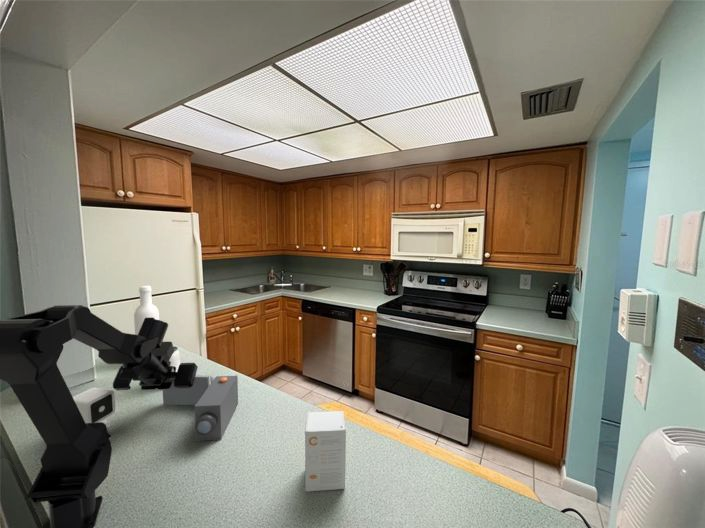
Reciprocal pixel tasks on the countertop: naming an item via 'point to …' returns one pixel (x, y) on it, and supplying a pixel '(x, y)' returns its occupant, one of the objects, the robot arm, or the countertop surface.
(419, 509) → the countertop surface
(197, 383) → the side door
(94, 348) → the robot arm
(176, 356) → the can
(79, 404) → the security camera
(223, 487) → the countertop surface
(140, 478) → the countertop surface
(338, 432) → the small box
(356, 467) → the countertop surface
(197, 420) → the camera body
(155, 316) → the bottle
